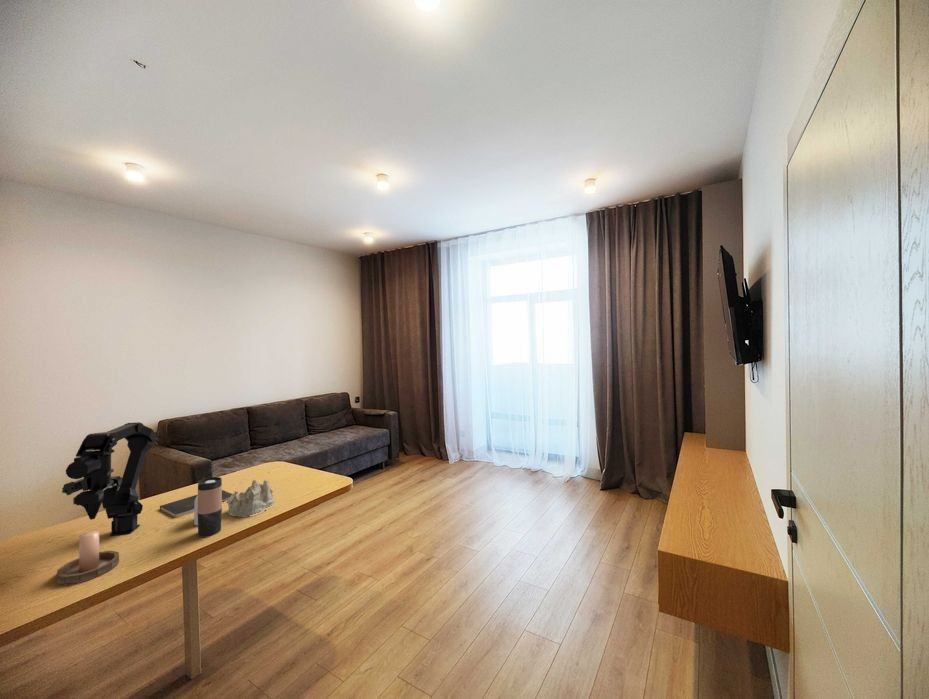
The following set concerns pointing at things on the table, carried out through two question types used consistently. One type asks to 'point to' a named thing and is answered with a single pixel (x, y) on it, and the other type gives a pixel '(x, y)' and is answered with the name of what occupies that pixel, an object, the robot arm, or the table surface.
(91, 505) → the robot arm
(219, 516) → the travel mug
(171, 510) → the hardcover book
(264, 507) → the ceramic cottage
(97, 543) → the candle
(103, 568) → the tray
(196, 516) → the photo printer
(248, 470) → the table surface
